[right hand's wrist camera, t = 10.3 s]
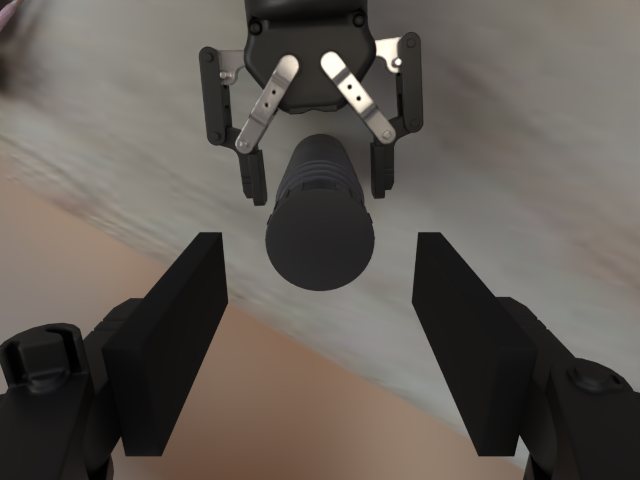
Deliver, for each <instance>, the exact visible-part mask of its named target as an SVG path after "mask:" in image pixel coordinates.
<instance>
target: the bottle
mask: <svg viewBox="0 0 640 480" xmlns="http://www.w3.org/2000/svg"><path fill="white" fill-rule="evenodd" d="M318 179H320V180H326V181H332V182H335V181H337V183H338V184H341V185H343V186H345V187H347V188H348V189H349V188H351V190H352V192H354V193H355V194H356V195H357V196H358V197H359V199H360V200H361V199H362V200H363V203H364V195H363V190H362V188H361V185H360V183H359V181H358V178H357V176H356V174H355V171H354V169H353V167H352V164H351V162H350V160H349V157H348V155H347V153H346V150H345V149H344V147H343V146H342V144H341V143H340V142H339V141H338V140H336V139H335V138H333V137H331V136H328V135H324V134H316V135H312V136H309V137H307V138H305V139H304V140H302V141H301V142H300V143H299V144H298V146H297V147H296V149H295V150H294V153H293V155H292V157H291V160H290V162H289V164H288V167H287V169H286V171H285V174H284V176H283V178H282V181H281V183H280V185H279V188H278V190H277V195H276V202H277V200H278V201H279V200H280V199H281V197H282V196H283V195H284V194H285V193H286V192H287V190H288V189H289V190H290V189H292V188H293V187H295V186H297V185H299V184H302V182H303V181H304V182H308V181H314V180H318Z"/></svg>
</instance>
